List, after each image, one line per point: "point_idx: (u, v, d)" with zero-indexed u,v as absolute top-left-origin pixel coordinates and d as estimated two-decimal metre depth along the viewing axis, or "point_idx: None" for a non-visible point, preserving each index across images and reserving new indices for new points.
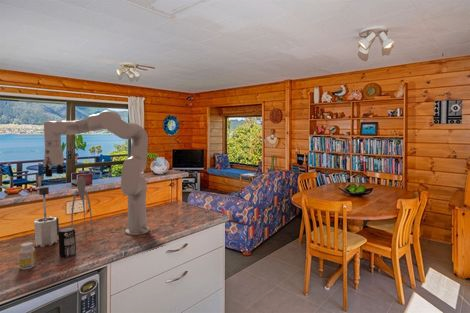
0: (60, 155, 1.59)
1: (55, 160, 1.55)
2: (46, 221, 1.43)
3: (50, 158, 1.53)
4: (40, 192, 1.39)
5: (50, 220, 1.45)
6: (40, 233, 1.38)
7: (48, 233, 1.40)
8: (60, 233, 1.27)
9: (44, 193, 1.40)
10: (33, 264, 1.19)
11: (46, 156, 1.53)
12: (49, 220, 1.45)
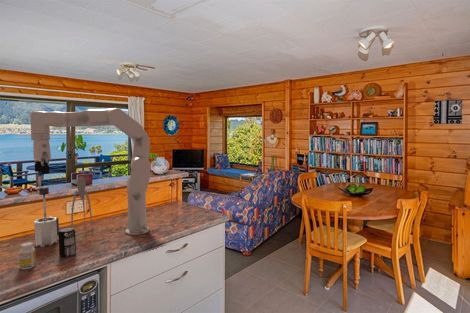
0: None
1: None
2: (46, 221, 1.43)
3: (48, 153, 1.37)
4: (40, 192, 1.39)
5: (50, 220, 1.45)
6: (40, 233, 1.38)
7: (48, 233, 1.40)
8: (60, 233, 1.27)
9: (44, 193, 1.40)
10: (33, 264, 1.19)
11: (42, 151, 1.35)
12: (49, 220, 1.45)
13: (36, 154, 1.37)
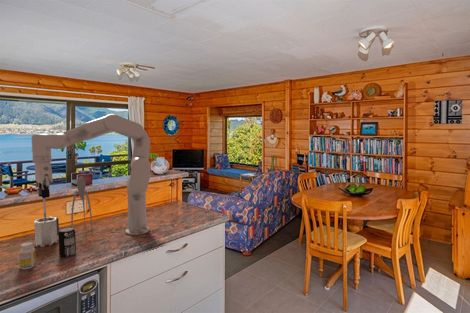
0: None
1: None
2: (46, 221, 1.43)
3: (49, 175, 1.38)
4: (40, 192, 1.39)
5: (50, 220, 1.45)
6: (40, 233, 1.38)
7: (48, 233, 1.40)
8: (60, 233, 1.27)
9: None
10: (33, 264, 1.19)
11: (44, 173, 1.37)
12: (49, 220, 1.45)
13: (38, 176, 1.38)
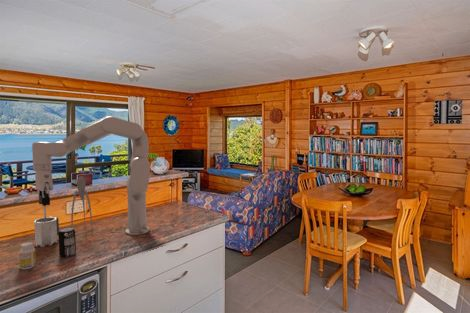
0: None
1: None
2: None
3: (50, 183, 1.39)
4: (40, 200, 1.40)
5: None
6: (40, 233, 1.38)
7: (48, 233, 1.40)
8: (60, 233, 1.27)
9: None
10: (33, 264, 1.19)
11: (45, 181, 1.37)
12: None
13: (38, 184, 1.38)
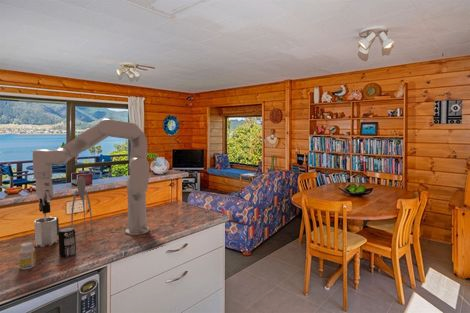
0: None
1: None
2: None
3: (50, 191, 1.39)
4: (41, 207, 1.40)
5: None
6: (40, 233, 1.38)
7: (48, 233, 1.40)
8: (60, 233, 1.27)
9: None
10: (33, 264, 1.19)
11: (45, 189, 1.37)
12: None
13: (39, 192, 1.39)
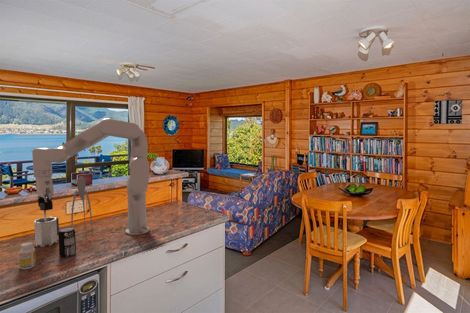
0: None
1: None
2: None
3: (51, 189, 1.39)
4: (41, 208, 1.40)
5: None
6: (40, 233, 1.38)
7: (48, 233, 1.40)
8: (60, 233, 1.27)
9: None
10: (33, 264, 1.19)
11: (45, 187, 1.37)
12: None
13: (39, 190, 1.39)
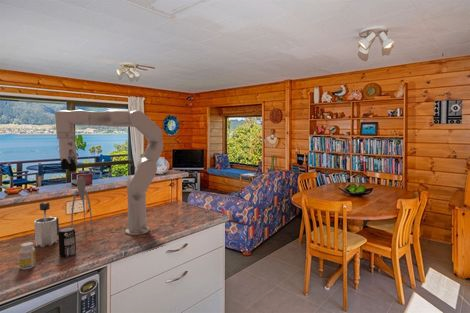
0: None
1: None
2: None
3: (74, 151, 1.42)
4: (41, 208, 1.40)
5: None
6: (40, 233, 1.38)
7: (48, 233, 1.40)
8: (60, 233, 1.27)
9: (45, 208, 1.40)
10: (33, 264, 1.19)
11: (69, 149, 1.40)
12: None
13: (63, 152, 1.41)
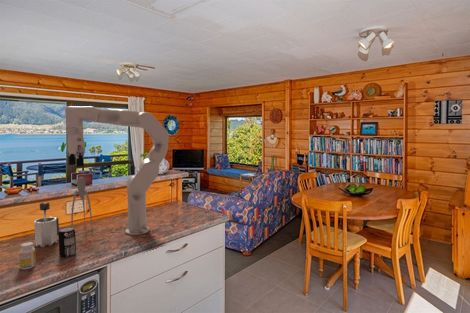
0: None
1: None
2: None
3: (82, 146, 1.43)
4: (41, 208, 1.40)
5: None
6: (40, 233, 1.38)
7: (48, 233, 1.40)
8: (60, 233, 1.27)
9: (45, 208, 1.40)
10: (33, 264, 1.19)
11: (77, 144, 1.41)
12: None
13: (71, 147, 1.42)
